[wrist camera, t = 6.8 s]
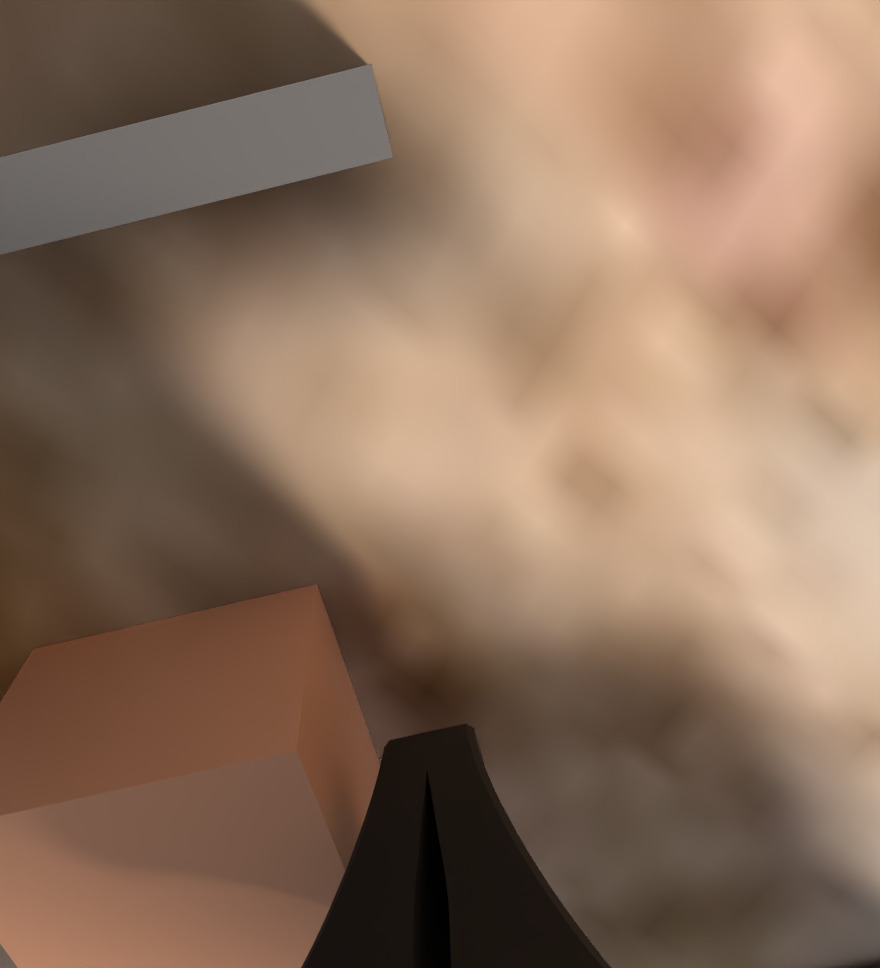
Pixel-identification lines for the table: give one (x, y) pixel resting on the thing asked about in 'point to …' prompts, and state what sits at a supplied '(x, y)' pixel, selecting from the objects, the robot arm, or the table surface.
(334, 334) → the table surface
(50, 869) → the terracotta block
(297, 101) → the box
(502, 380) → the table surface
